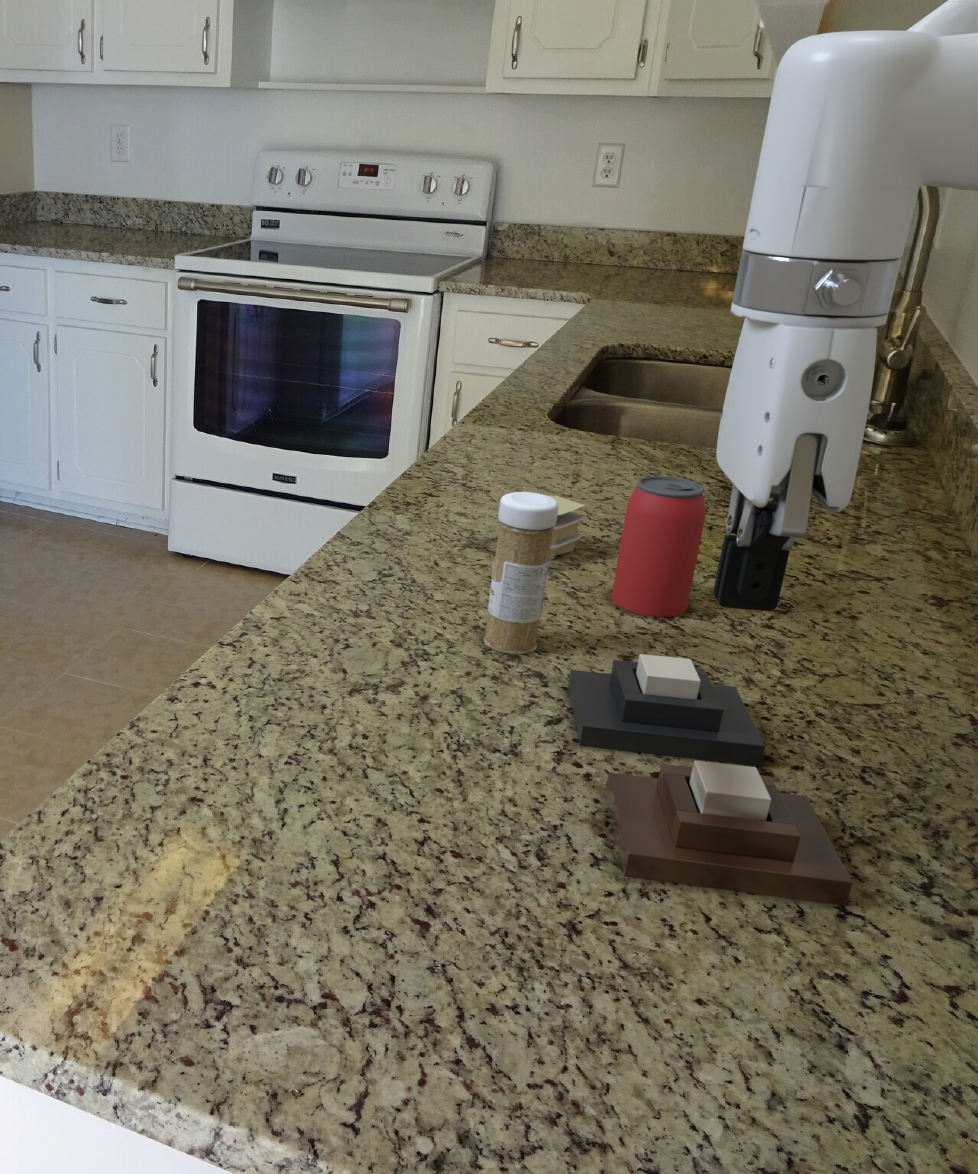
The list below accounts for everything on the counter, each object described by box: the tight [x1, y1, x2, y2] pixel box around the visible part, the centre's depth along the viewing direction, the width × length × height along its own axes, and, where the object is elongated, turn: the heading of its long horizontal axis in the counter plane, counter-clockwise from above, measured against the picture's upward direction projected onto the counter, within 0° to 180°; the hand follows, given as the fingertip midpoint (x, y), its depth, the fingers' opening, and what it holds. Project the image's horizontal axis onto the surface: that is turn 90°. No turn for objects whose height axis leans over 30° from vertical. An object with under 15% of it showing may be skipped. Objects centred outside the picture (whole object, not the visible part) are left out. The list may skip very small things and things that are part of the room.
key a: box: [689, 759, 771, 821], centre depth 67 cm, size 4×4×2 cm
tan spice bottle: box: [483, 491, 558, 655], centre depth 92 cm, size 5×5×13 cm
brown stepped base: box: [604, 763, 853, 907], centre depth 68 cm, size 12×9×4 cm
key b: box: [636, 653, 701, 699], centre depth 80 cm, size 4×4×2 cm
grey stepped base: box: [567, 659, 766, 767], centre depth 81 cm, size 12×9×4 cm
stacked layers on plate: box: [548, 494, 586, 561], centre depth 115 cm, size 10×9×6 cm
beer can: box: [611, 475, 707, 618], centre depth 101 cm, size 7×7×12 cm
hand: (743, 603), depth 66 cm, fingers closed
